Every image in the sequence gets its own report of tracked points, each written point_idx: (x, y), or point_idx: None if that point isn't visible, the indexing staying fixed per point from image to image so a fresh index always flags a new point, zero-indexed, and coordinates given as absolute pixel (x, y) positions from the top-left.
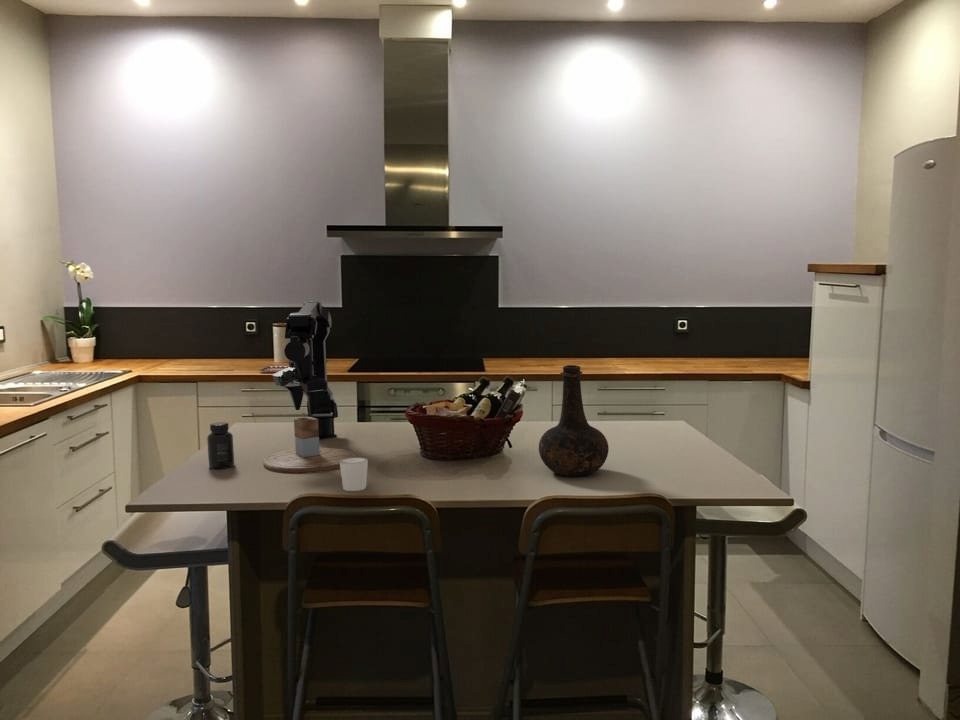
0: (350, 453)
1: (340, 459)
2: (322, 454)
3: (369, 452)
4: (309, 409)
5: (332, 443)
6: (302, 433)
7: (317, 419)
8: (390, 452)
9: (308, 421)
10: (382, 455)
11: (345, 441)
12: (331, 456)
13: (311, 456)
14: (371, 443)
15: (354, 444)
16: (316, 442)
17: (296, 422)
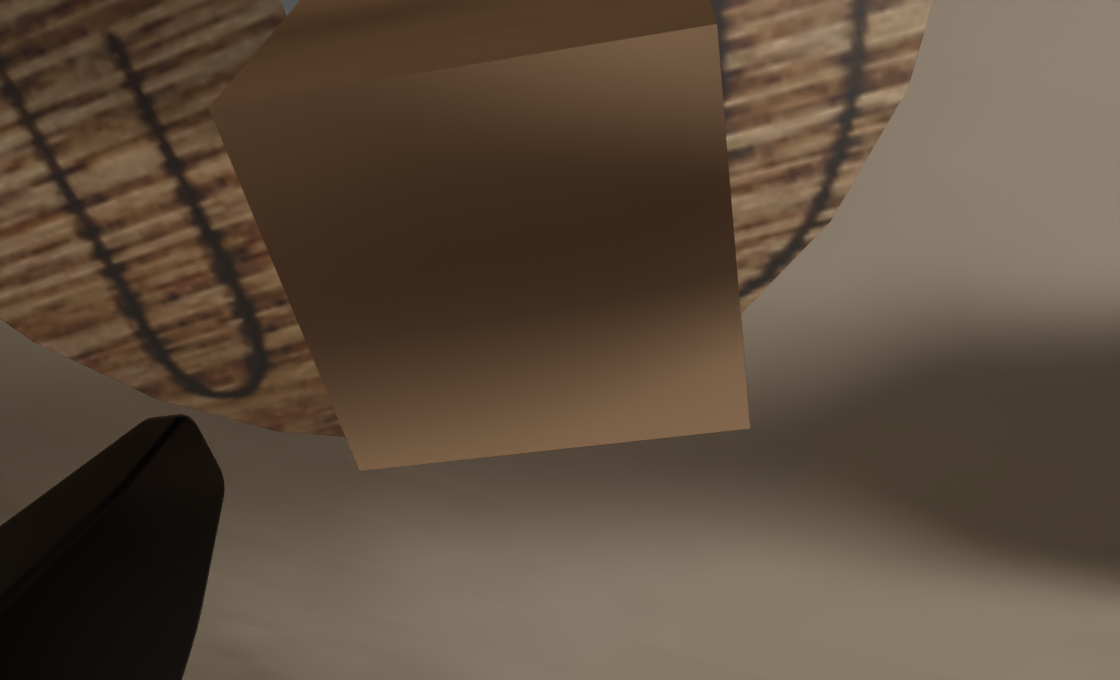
0: (320, 414)
1: (52, 253)
2: None
3: (480, 558)
4: (78, 498)
5: (1112, 445)
6: (297, 6)
7: (353, 455)
8: (397, 656)
9: (289, 265)
10: (313, 591)
11: (1086, 553)
12: (245, 219)
13: None
14: (820, 663)
15: (890, 568)
16: None
17: (550, 23)
